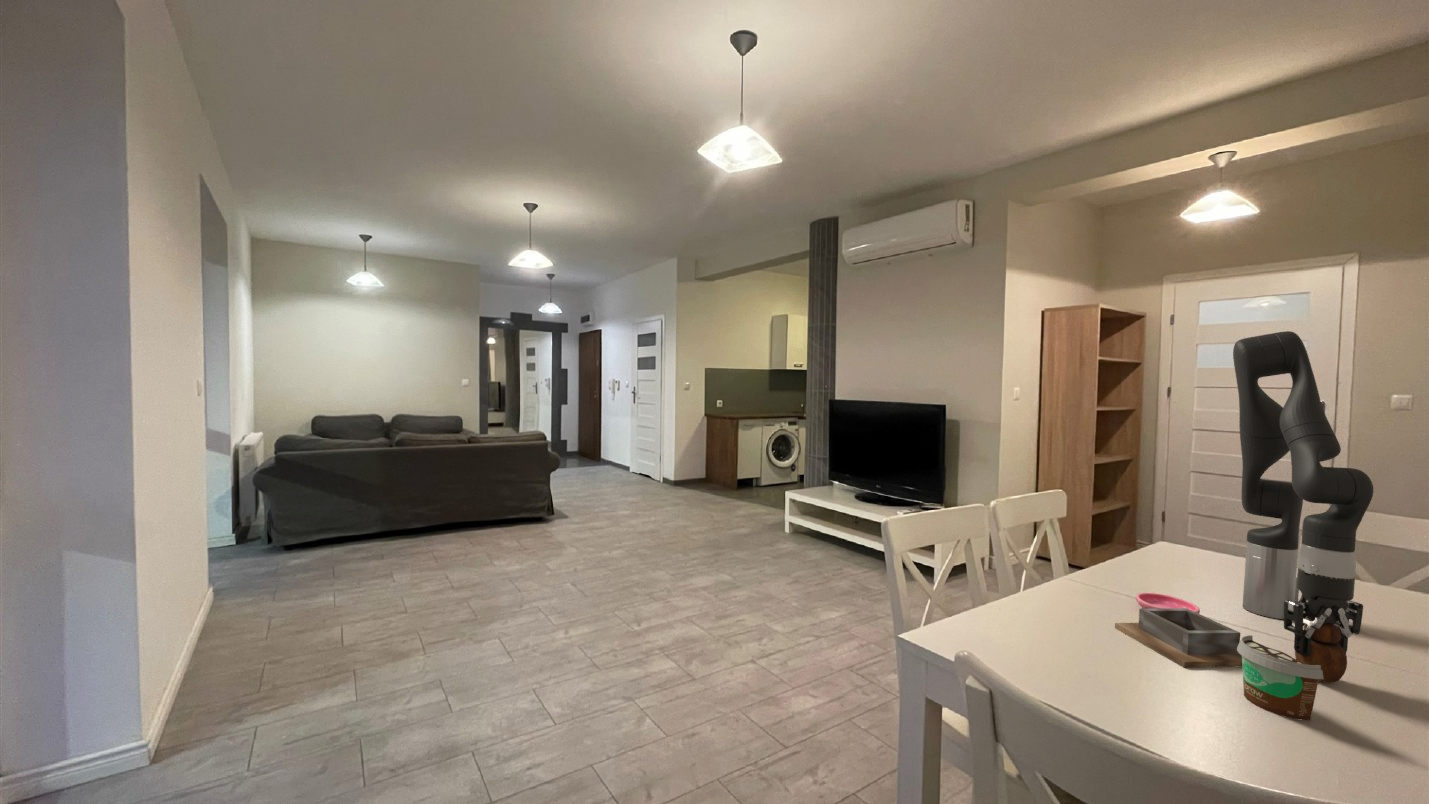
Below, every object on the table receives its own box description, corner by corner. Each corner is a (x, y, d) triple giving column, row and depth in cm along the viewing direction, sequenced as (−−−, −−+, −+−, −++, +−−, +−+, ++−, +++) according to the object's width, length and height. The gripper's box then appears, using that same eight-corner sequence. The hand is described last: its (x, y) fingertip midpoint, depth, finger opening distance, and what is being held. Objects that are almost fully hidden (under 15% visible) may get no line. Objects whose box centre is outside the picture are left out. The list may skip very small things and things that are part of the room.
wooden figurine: (1330, 674, 112) (1336, 599, 112) (1352, 689, 107) (1358, 611, 106) (1287, 668, 114) (1292, 594, 114) (1306, 682, 109) (1311, 605, 108)
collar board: (1187, 627, 133) (1189, 603, 133) (1267, 666, 115) (1269, 638, 115) (1114, 628, 132) (1116, 603, 132) (1184, 667, 114) (1185, 639, 114)
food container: (1215, 686, 107) (1219, 634, 107) (1245, 685, 108) (1249, 633, 107) (1287, 726, 95) (1290, 668, 94) (1320, 725, 95) (1324, 667, 95)
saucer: (1175, 605, 147) (1176, 593, 147) (1212, 626, 134) (1213, 613, 134) (1124, 602, 148) (1124, 590, 148) (1156, 623, 136) (1156, 610, 136)
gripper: (1337, 563, 114) (1331, 644, 115) (1270, 563, 113) (1265, 645, 114) (1384, 576, 106) (1377, 663, 107) (1313, 577, 105) (1307, 664, 106)
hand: (1320, 654), depth 110 cm, fingers closed on wooden figurine, 7 cm apart
